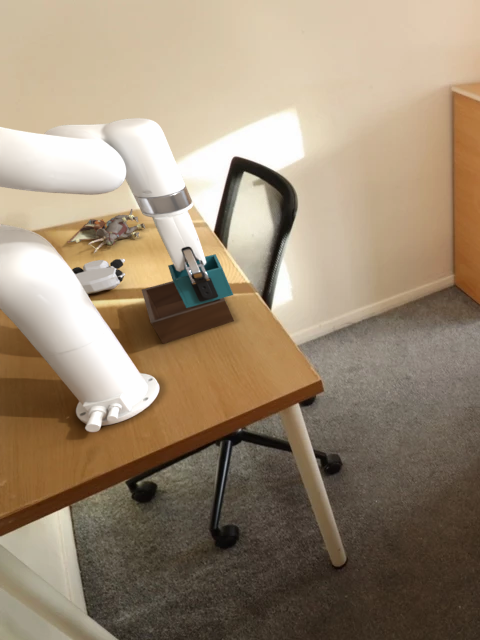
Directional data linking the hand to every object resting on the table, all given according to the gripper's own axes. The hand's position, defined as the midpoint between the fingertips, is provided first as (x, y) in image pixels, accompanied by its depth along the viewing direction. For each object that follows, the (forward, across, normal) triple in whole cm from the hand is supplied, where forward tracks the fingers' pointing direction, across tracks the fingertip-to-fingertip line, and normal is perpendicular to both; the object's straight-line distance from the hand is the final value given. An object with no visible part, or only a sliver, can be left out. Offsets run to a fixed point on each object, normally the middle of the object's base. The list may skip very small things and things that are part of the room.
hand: (205, 289), depth 90 cm
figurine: (+15, -72, -18) cm, 76 cm away
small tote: (+1, 0, 0) cm, 1 cm away
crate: (+15, -18, -5) cm, 24 cm away
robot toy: (+15, -45, -21) cm, 52 cm away
